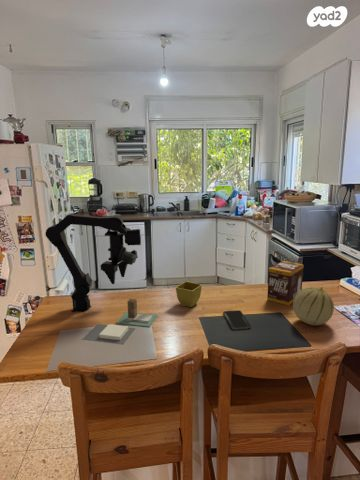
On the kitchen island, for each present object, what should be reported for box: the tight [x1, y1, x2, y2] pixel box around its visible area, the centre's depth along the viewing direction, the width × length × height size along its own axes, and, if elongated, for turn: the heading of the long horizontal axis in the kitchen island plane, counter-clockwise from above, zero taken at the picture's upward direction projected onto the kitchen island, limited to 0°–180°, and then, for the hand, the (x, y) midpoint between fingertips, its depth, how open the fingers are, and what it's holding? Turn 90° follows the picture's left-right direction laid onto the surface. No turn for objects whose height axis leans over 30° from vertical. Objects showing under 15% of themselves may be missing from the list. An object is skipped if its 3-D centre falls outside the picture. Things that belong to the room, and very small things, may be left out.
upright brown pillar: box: [126, 298, 152, 323], centre depth 134 cm, size 9×5×8 cm, turn 76°
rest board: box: [115, 311, 158, 328], centre depth 136 cm, size 14×10×1 cm
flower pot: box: [175, 281, 203, 308], centre depth 150 cm, size 9×9×9 cm
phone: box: [222, 310, 252, 331], centre depth 135 cm, size 8×1×15 cm
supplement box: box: [267, 260, 305, 306], centre depth 155 cm, size 10×15×16 cm
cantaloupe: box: [292, 286, 335, 326], centre depth 130 cm, size 15×15×15 cm
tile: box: [99, 323, 130, 340], centre depth 124 cm, size 2×8×8 cm
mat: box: [81, 323, 137, 345], centre depth 125 cm, size 16×12×1 cm
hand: (118, 280), depth 146 cm, fingers open, 9 cm apart
